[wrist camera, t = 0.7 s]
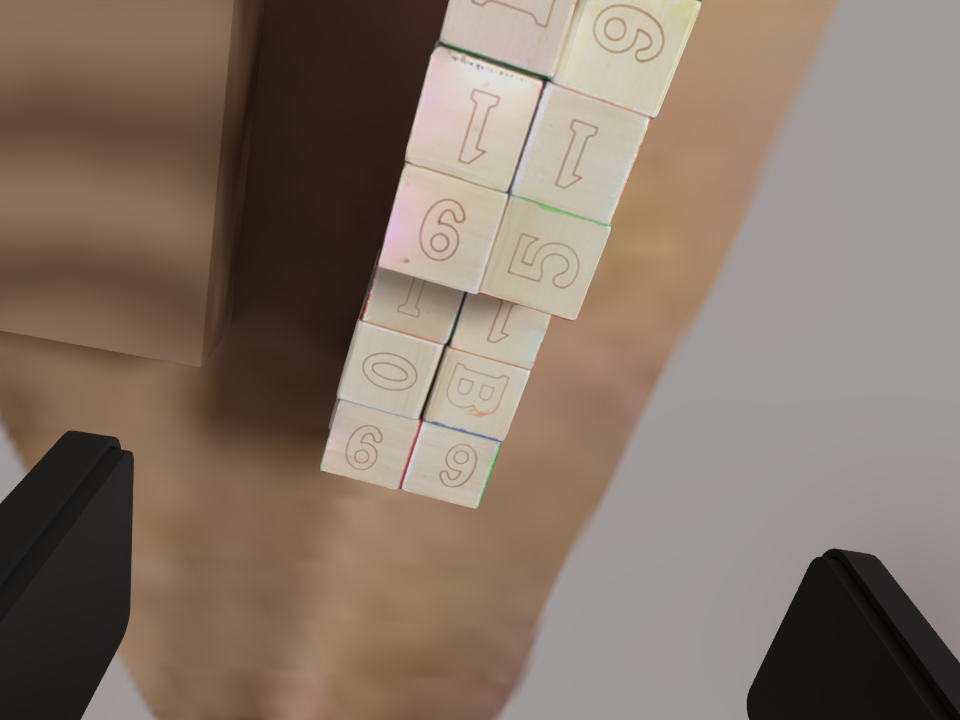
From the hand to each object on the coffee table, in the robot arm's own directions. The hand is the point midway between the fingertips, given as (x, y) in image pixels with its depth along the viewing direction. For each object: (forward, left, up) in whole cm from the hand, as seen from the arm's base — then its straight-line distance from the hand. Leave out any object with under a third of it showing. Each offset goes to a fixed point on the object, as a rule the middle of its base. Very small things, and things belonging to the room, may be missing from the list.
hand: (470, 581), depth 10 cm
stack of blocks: (-1, +1, -25) cm, 25 cm away
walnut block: (-2, -13, -25) cm, 28 cm away
